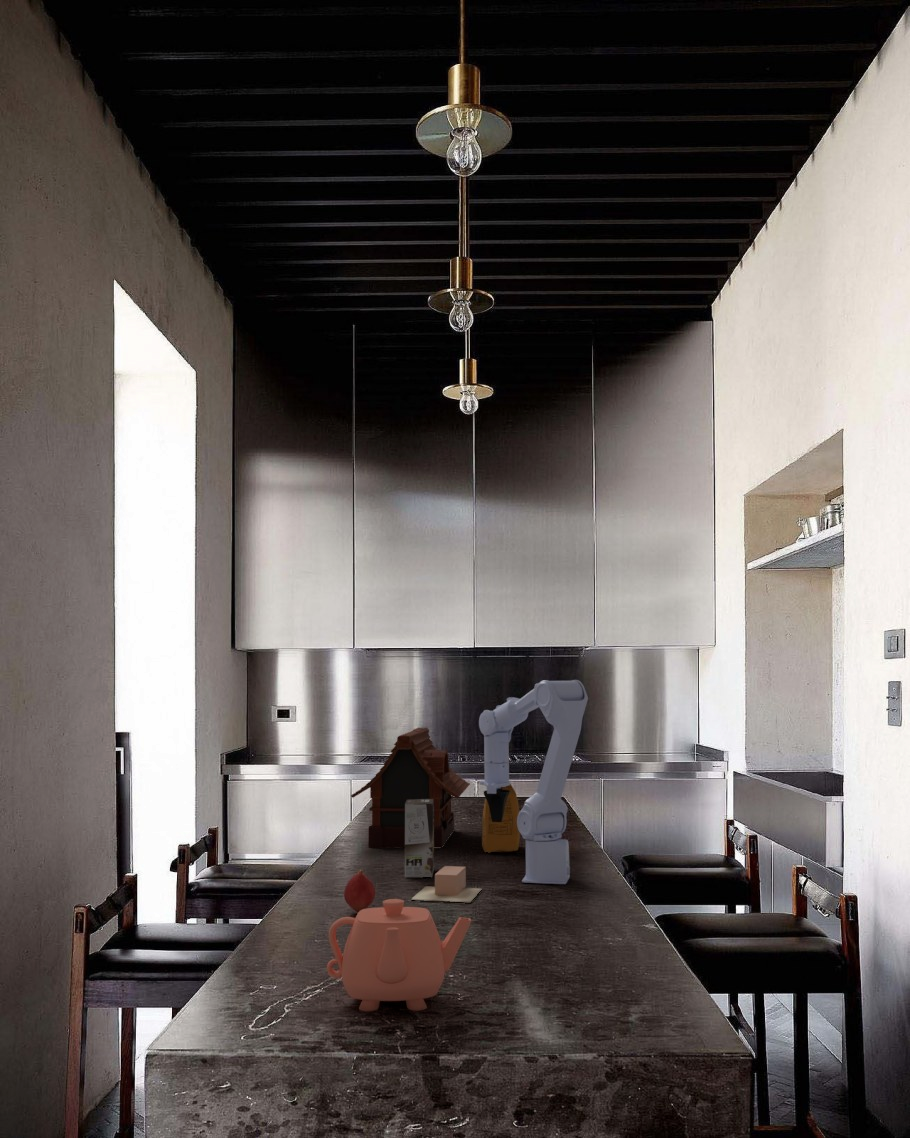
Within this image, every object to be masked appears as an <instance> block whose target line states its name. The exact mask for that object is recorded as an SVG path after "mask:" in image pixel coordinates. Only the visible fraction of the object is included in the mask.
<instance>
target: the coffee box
mask: <svg viewBox="0 0 910 1138" xmlns="http://www.w3.org/2000/svg"><path fill="white" fill-rule="evenodd" d="M434 868H435V849H434V799H415V800H407V801H406V803H405V848H404V878H423V877H431V878H433V876H434V875H433V874H434V870H435V869H434Z"/></svg>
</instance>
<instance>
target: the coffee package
mask: <svg viewBox="0 0 910 1138" xmlns="http://www.w3.org/2000/svg"><path fill="white" fill-rule="evenodd" d="M503 789H506V790H510V793H509V795H508V798H507V800H506V804H505V809H504V815H503V819H502V822H492V819H491V814H490V809H489V805H488V802H487V800H486V798H485V799H484V805H483V810H482V811H483V812H482V821H481V824H482V825H481V846H482V849H483V851H484V852H485V853H486V852H488V853H487V854H492V853H491V852H499V853H509V852H510V853H511V852H515V851H518V850H519V847H520V846H519V845H520V839H521V834H520V832H519V830H518V827H517V817H518V814H519V812H520V811H521V810H520V807H519V801H518V796H517V795H518V794H517V793H516V790H515V789H514V787H513V786H512V783H510V785H509V786H506V787H502V790H503Z"/></svg>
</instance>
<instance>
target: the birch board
mask: <svg viewBox="0 0 910 1138" xmlns="http://www.w3.org/2000/svg"><path fill="white" fill-rule="evenodd" d="M481 890H482V891H483V889H482V888H476V887H475V888H474V887H473V888H472V887H465V888H464V889H463V890H462V891H461V892H460V893H459V894H458V895H457V896H452V895H435V886H428V885H427V886H424V887H423V888H422V889H421V890H420V891H419V892H417V893H416V894H415V895H414V896H413V897H411V899H410V901H411V900H424V901H450V902H471V901H472V900H473V899H474V898H475V897H476V896H477V894H478V893H479V892H480V891H481ZM482 891H481V892H482ZM481 892H480V893H481ZM480 893H479V894H480ZM477 897H478V896H477ZM477 897H476V898H477ZM476 898H475V899H476ZM475 899H474V900H475ZM474 900H473V901H474ZM473 901H472V902H473Z"/></svg>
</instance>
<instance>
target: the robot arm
mask: <svg viewBox="0 0 910 1138" xmlns="http://www.w3.org/2000/svg"><path fill="white" fill-rule="evenodd" d="M588 700H589V697H588V693H587V691H586V688H585V686H584V684H583V683H582V682H581V681H580V680H578V679H572V680H547V679H546V680H545V679H544V680H541V681H540V682H537V683H535V684H534V688H533V689H531V690H530V691H529V692H527V693H526V694H525V695H523V696H522V697H521V698H518V697H513V696H511V697H510V696H509V697H507V698H506V702H504V703H503V704H501V705H499V704H498V705H496V707H495V709H493V710H489V709H484V710H483V712H481V713H480V715H479V720H478V727H479V730H480V732H481V734H482V735H483V736H484V737H483V743H484V744H483V745H484V746H483V747H484V748H483V749H484V750H483V752H484V753H483V754H484V755H483V759H484V780H480V781H479V785H483V786H485V787H486V790H484V791H483V796H484V797H485V799H486V800H487V802H488V805H489V809H490V814H491V819H492V822H502V819H503V815H504V809H505V804H506V800H507V798H508V795H509V793H510V790H506V789H503V790H502V787H506V786H509V785H510V784H511V781H510V761H509V760H510V756H509V755H510V753H509V751H510V749H509V747H510V742H511V740H512V732H513V731H514V727H516V726H518V725H520V724H521V723H522V722H523V723H524V721H526V720H527V718H528V717H529V713H530V712H532V711H534V710H536V709H540V711H541V712H542V714H543V716H544V718H545V720H546V722H547V723H548V724H550V725H551V726H552V727H553V731H552V735H551V738H550V742H549V747H548V749H547V752H546V756H545V759H544V760H545V761H544V764H543V767H542V771H541V774H540V778H539V781H538V784H537V789H536V791H535V793H534V794H532V795H531V796H529V797H528V798H527V799H526V800H525V801H524V803H523V805H522V808H521V810H519V811H520V812H519V814H518V817H517V827H518V830H519V832H520V836H521V837H522V839H524V840H525V876H524V877H523V878H522V880H521V882H522V883H527V884H528V883H529V884H549V885H550V884H553V885H566V884H567V883H568V881H569V879H570V878H571V876H570V874H571V867H570V847H569V845H570V844H569V841H568V839H565V838H564V839H562V834H564V832H565V831H566V828H567V822H568V821H567V815H568V809H569V808H568V806H567V804H566V803H565V801H564V800H563V799H562V796H563V793H564V788H565V785H566V782H567V778H568V775H569V772H570V768H571V766H572V765H571V764H572V761H573V758H574V755H575V752H576V748H577V745H578V740H579V737H580V735H581V730H582V722H583V717H584V715H585V710H586V707H587V704H588Z"/></svg>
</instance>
